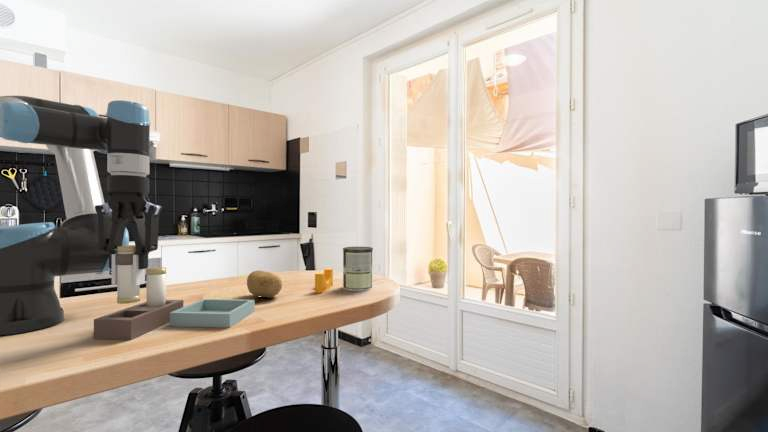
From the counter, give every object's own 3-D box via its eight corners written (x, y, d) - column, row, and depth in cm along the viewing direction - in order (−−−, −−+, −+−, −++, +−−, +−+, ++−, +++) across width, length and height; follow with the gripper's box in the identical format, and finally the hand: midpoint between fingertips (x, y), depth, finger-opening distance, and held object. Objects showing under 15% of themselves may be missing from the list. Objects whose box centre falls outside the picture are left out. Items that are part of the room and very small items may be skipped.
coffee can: (337, 288, 132) (337, 247, 132) (361, 284, 138) (361, 246, 138) (354, 292, 124) (354, 249, 124) (378, 289, 130) (378, 248, 130)
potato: (259, 304, 107) (259, 276, 107) (239, 296, 118) (239, 270, 118) (290, 299, 114) (290, 272, 114) (269, 292, 124) (269, 267, 124)
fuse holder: (93, 338, 77) (93, 319, 77) (152, 315, 95) (152, 299, 95) (131, 339, 77) (131, 320, 77) (183, 316, 95) (183, 300, 95)
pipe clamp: (321, 286, 135) (321, 268, 135) (332, 287, 134) (332, 268, 134) (309, 293, 123) (309, 273, 123) (322, 294, 122) (322, 274, 122)
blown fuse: (112, 303, 80) (112, 246, 80) (126, 299, 84) (126, 244, 84) (130, 303, 79) (130, 246, 79) (144, 299, 84) (144, 245, 83)
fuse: (141, 320, 89) (142, 269, 89) (153, 316, 93) (153, 267, 93) (158, 321, 88) (158, 269, 88) (169, 316, 92) (169, 267, 92)
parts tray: (169, 326, 86) (169, 312, 86) (202, 310, 100) (202, 298, 100) (229, 327, 85) (229, 314, 85) (254, 311, 99) (254, 299, 99)
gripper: (75, 173, 78) (75, 286, 78) (155, 173, 77) (155, 288, 77) (104, 177, 86) (104, 280, 86) (177, 177, 85) (177, 281, 85)
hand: (128, 283), depth 82 cm, fingers closed on blown fuse, 4 cm apart
